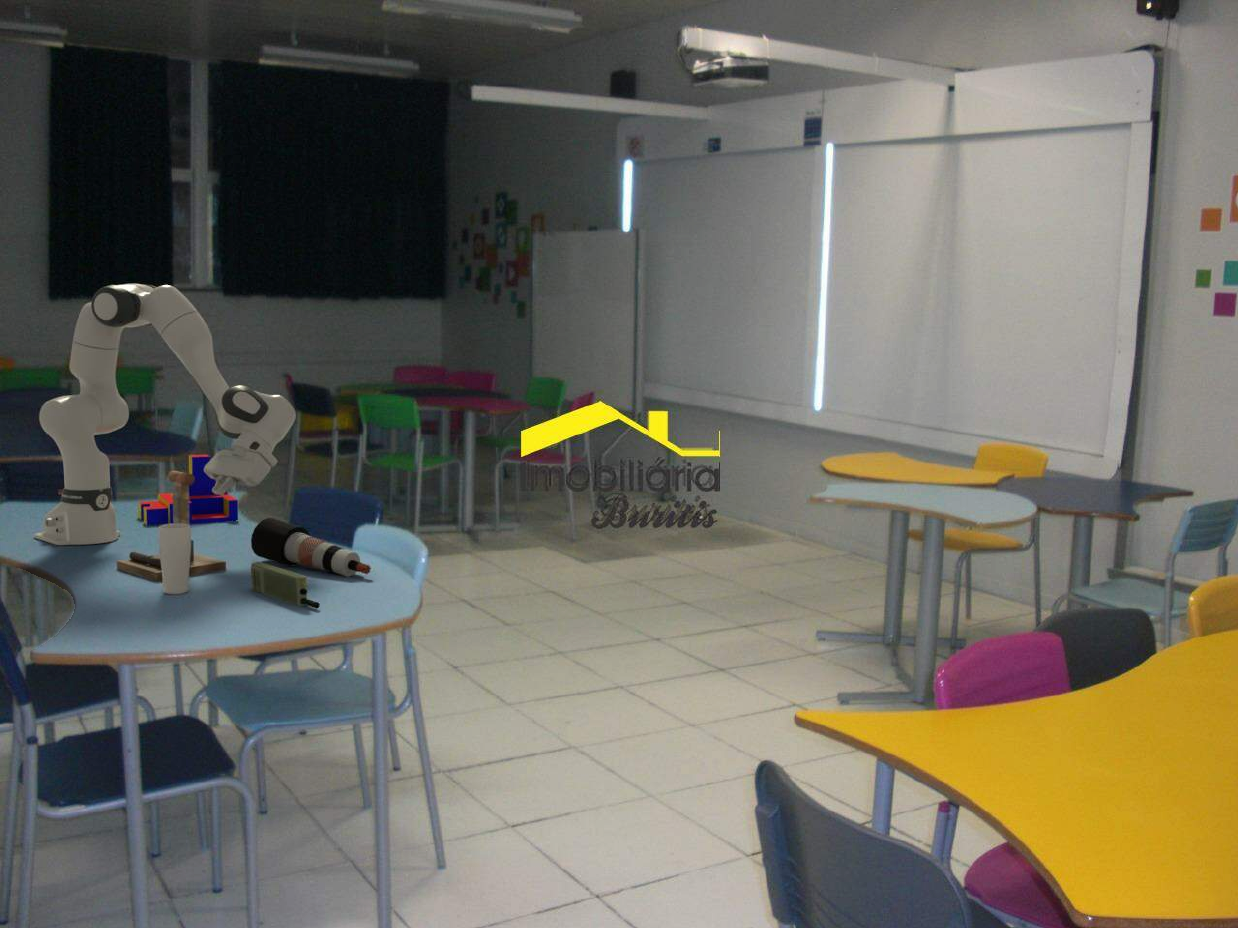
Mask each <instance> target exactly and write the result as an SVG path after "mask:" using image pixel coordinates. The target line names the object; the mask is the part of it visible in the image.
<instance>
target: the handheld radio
mask: <svg viewBox="0 0 1238 928" xmlns="http://www.w3.org/2000/svg"><path fill="white" fill-rule="evenodd" d="M250 566H251V567H250V574H251V589H252V591H254V592H256V593H259V594H262V595H266V596H268V597H270V598H274V599H276V600H280V601H282V602H286V603H288V604H290V605H295V606H298V607H301V606H309V607H311V608H314V609H319V608H320V606H321V605H320V603H319V602H318V601H317V602H316V601H315V600H311V599H309V598H308V597H307V596H308V595H307V594H308V590H307V578H308V576H306V575H303V574H300V573H296V572H293V571H290V570H287V569H284V568H280V567H277V566H274V565H271V564H267V563H265V562H261V561H255V562H251V565H250Z"/></svg>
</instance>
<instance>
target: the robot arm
mask: <svg viewBox="0 0 1238 928" xmlns="http://www.w3.org/2000/svg"><path fill="white" fill-rule="evenodd" d="M150 325H152V326H153V327H154V328H155V329H156V331H157V333H158V334H159V336H161V338H162V339H163V341H164V342H165V344H167V346H168V347H169V349H170V350H171V351H172V352H173V353H174V355H175V356H176V357H177V359H178V360H179V361H180V362H181V363H182V364H183V366H184V367H185V369H186V370H187V371H188V372H189V374H190V375H191V377H192V378H193V379H194V381H195V383H196V384H197V386H198V387H199V389H200V390H201V392H202V393H203V394H204V397H205V398H206V400H207V401H208V402H209V404H210V405H211V407H212V409H213V413H214V415H215V421H216V426H217V429H219V431H220V432H221V433H222V434H223V435H224V436H226V437H227V438H230V439H233V440H235V441H234V442H233V443H232V445H231V447H228V448H227V449H221V450H220V451H218V452H217V453H216V454H215V455H214V456H213V457H212V458H210V461H209V462H208V463H207V465H206V466H205V467H204V472H205V473H206V474H207V475H208V476H209V477H210V478H211V479H214V480H215V481H216V484H215V486H214V487H213V489H212V492H213V493H214V494H218V495H224V493H225V492H227V491H228V490H230V489H232V488H233V487H234V486H235V485H236V484H237V485H243V486H249V487H256V486H257V485H259V484H261V482H263V480H264V479H265V477H266V476H267V475H268V474H269V472H270V471H271V468H274V467H275V466H276V465H277V463H278V460H277V458H276V457H275V456H274V455H273V454H272V453H273V452H274V449H275V447H276V446H277V444H278V443H280V442H281V441H282V440H283V439H284V438H285V437H286V435H287V434H288V432H289V431H290V429H291V428H292V426H293V424H294V422H295V421H296V417H297V415H296V410H295V408H294V406H293V405H292V404H291V402H290V401H289V400H288V399H287V398H285V397H284V396H283V395H280V394H267V393H262V392H259V391H257V390H254V389H253V388H251V387H249V386H246V385H241V384H240V385H234V386H233V385H232V386H231V387H230V386H229V384H228V383H227V382H226V380H225V379H224V377H223V375H222V374H221V372H220V371H219V369H218V366H217V363H216V359H215V355H214V344H213V336H212V334H211V333H212V332H211V330H210V329H209V326H208V325H207V323H206V320H205V319H204V318H203V317H202V315H201V314H200V312H199V311H198V310H197V308H196V307H195V306H194V305H193V303H192V302H191V301H190V300H189V299H188V298H187V297H186V296H185V295H184V294H183V293H182V292H181V291H180V290H179V289H177V288H176V287H175V286H172V285H168V284H164V285H159V286H154V285H153V284H147V283H144V284H142V283H141V284H140V283H130V282H129V283H124V284H117V285H116V284H110V285H107V286H103V287H101V288H99V289H97V291H96V292H95V293H94V294H93V296H92V299H91V302H87V303H85V304H84V305H83V306H82V308H81V310H80V313H79V316H78V319H77V321H76V325H75V329H74V332H73V338H72V345H71V350H70V351H71V353H70V359H69V372H70V373H71V374H72V375H73V376H74V377H75V378H76V379H78V382H79V387H80V392H79V394H72V395H71V394H70V395H62V396H58V397H55V398H53V399H50V400H48V401H46V402H44V403H43V404H42V405H41V408H40V411H39V416H38V418H39V419H38V420H39V423H40V426H41V428H42V430H43V431H44V432H45V433H46V434H47V435H49V437H51V438H52V440H54V442H55V444H56V445H57V447H58V449H59V451H60V455H61V458H62V464H63V465H62V466H63V475H64V476H63V479H64V487H63V488H62V489H59V490H57V491H58V495H61V496H60V499H59V501H60V502H59V503H58V504H57V505H55V506H54V508H52V509H51V510H50V511H48V512H47V513H46V514H45V516H44V520H43V531H42V530H41V531H39V532H36V533H34V535H33V538H35V539H37V540H41V541H42V542H43V541H44V542H47V543H50V544H52V545H56V546H67V545H68V546H70V545H79V546H80V545H95V544H97V545H98V544H104V543H111V542H114V541H116V540H118V539H119V536H121V530H118V528H117V527H118V526H117V520H116V519H117V518H116V511H115V510H116V509H115V507H114V505H113V504H112V502H111V501H112V500H113V488H112V487H111V486H110V485H111V483H110V482H111V479H110V477H111V474H110V458H109V457H108V456H107V454H106V453H104V452H102V451H100V449H99V448H98V446H97V444H96V443H97V442H96V440H95V436H96V435H97V436H98V435H105V434H109V433H112V432H115V431H117V430H120V429H121V428H123V427H125V426H126V424H127V423H128V421H129V417H130V410H129V406H128V404H127V402H126V401H125V399H123V397H121V395H120V393H119V390H118V387H117V386H118V385H117V380H116V370H117V363H118V354H119V349H120V348H119V347H120V341H121V336H122V333H123V330H124V329H125V328H135V327H142V326H150Z"/></svg>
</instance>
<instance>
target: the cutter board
mask: <svg viewBox="0 0 1238 928" xmlns="http://www.w3.org/2000/svg"><path fill="white" fill-rule="evenodd" d="M194 546H195V545H194V540H193V539H191V553H190V566H189V577H191V576H197V575H204V574H208V573H214V572H219V571H226V570H227V562H226V561H225V560H220V559H218V558H214V557H210V556H207V555H204V554H199V553H196V552H195V550H194V549H195V548H194ZM128 557H129V558H127V559H120V560H116V569H117V570H119V571H122V572H126V573H129V574H132V575H136V576H139V577H141V578H145V579H148V580H151V581H154V582H163V579H162V570H161V561H160V553H159V554H144V553H142V552H138V551H131V552H130V553H129V556H128Z"/></svg>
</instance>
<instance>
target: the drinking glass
mask: <svg viewBox="0 0 1238 928" xmlns="http://www.w3.org/2000/svg"><path fill="white" fill-rule="evenodd" d="M191 529H192V528H191V524H189V525H188V524H180V523H175V524H163V525H158V535H157V536H158V551H159V554H160V561H161V570H162V579H163V580H162V591H163V593H164V594H166V595H182V594H185V593H187V592H188V591H189V588H190V587H189V585H190V584H189V581H190V580H189V579H190V576H189V566H190V553H191V540H192V530H191Z"/></svg>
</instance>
